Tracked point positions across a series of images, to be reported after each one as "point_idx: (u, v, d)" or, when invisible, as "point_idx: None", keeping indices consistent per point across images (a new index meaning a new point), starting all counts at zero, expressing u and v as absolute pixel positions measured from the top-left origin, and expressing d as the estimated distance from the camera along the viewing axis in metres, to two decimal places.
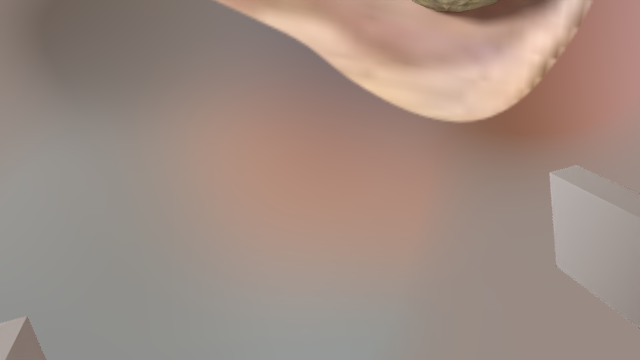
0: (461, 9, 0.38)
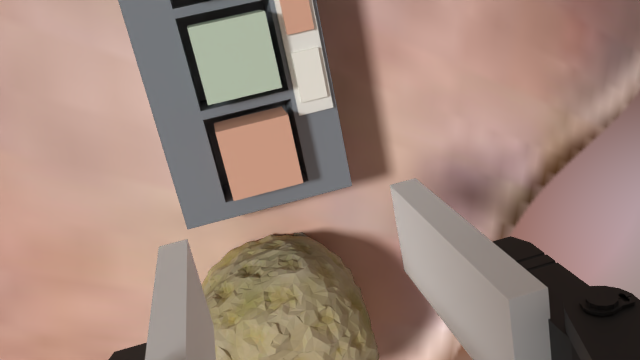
0: None
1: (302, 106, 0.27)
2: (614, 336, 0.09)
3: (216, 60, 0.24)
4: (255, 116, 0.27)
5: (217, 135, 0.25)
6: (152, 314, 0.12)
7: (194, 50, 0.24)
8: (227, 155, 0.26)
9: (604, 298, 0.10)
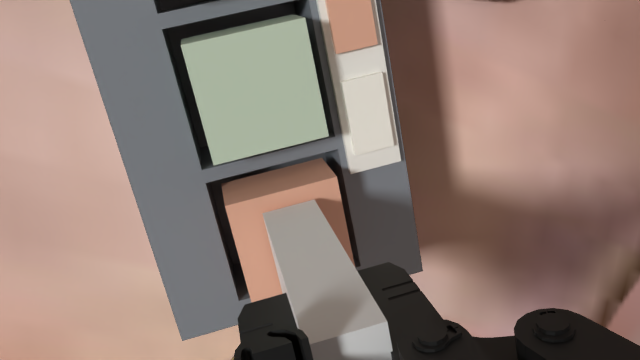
0: None
1: (355, 160, 0.18)
2: None
3: (227, 96, 0.15)
4: (284, 175, 0.18)
5: (228, 210, 0.16)
6: (280, 269, 0.13)
7: (192, 80, 0.15)
8: (243, 239, 0.17)
9: (434, 333, 0.10)
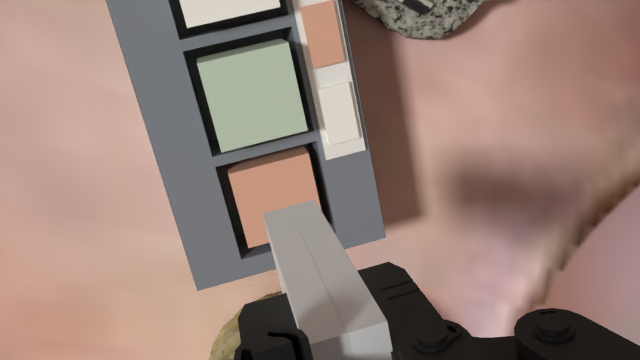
0: None
1: (330, 149, 0.23)
2: None
3: (231, 100, 0.21)
4: (271, 153, 0.24)
5: (230, 177, 0.23)
6: (280, 269, 0.13)
7: (205, 89, 0.20)
8: (241, 198, 0.23)
9: (434, 333, 0.10)
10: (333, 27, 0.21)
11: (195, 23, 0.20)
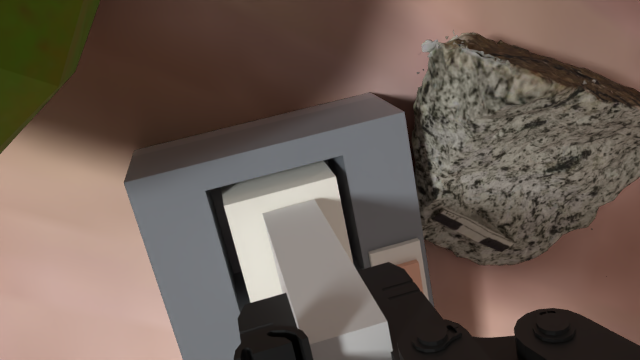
0: None
1: None
2: None
3: None
4: None
5: None
6: (280, 269, 0.13)
7: None
8: None
9: (434, 333, 0.10)
10: None
11: None
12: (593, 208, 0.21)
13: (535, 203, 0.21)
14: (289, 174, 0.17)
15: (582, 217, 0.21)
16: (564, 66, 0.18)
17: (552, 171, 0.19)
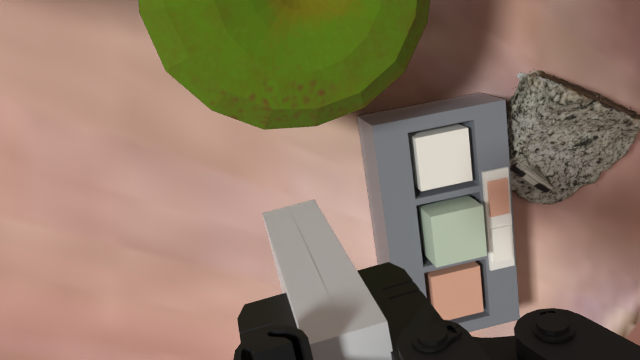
0: None
1: (493, 264, 0.36)
2: None
3: (446, 237, 0.34)
4: None
5: (431, 279, 0.36)
6: (280, 269, 0.13)
7: (433, 231, 0.34)
8: (436, 292, 0.36)
9: (434, 333, 0.10)
10: (505, 194, 0.35)
11: (426, 189, 0.34)
12: (598, 171, 0.38)
13: (566, 165, 0.38)
14: (441, 127, 0.35)
15: (591, 176, 0.38)
16: (586, 90, 0.35)
17: (577, 146, 0.36)
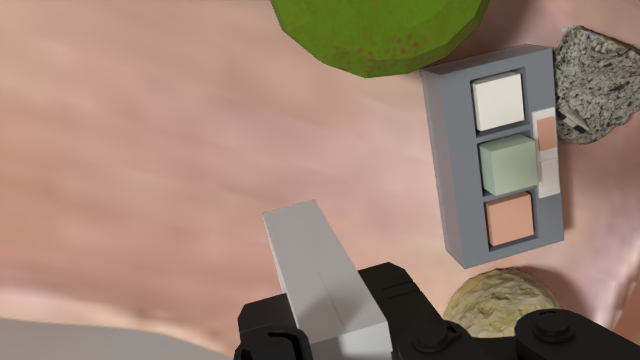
0: None
1: (542, 192, 0.42)
2: None
3: (504, 169, 0.40)
4: None
5: (489, 207, 0.42)
6: (280, 269, 0.13)
7: (492, 164, 0.40)
8: (493, 219, 0.42)
9: (434, 333, 0.10)
10: (552, 130, 0.41)
11: (485, 128, 0.40)
12: (628, 114, 0.44)
13: (601, 108, 0.43)
14: (495, 75, 0.40)
15: (622, 118, 0.44)
16: (620, 41, 0.41)
17: (611, 91, 0.42)
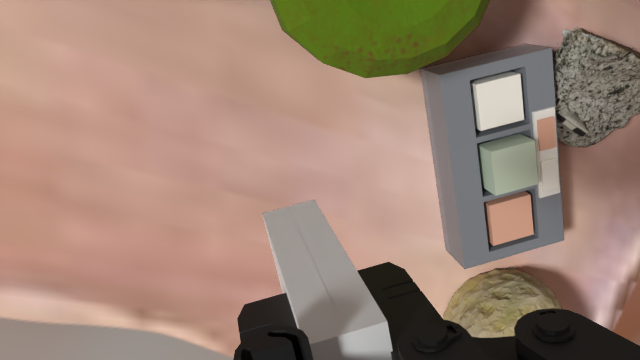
0: None
1: (542, 192, 0.42)
2: None
3: (504, 169, 0.40)
4: None
5: (490, 207, 0.42)
6: (280, 269, 0.13)
7: (493, 164, 0.40)
8: (493, 218, 0.42)
9: (434, 333, 0.10)
10: (552, 130, 0.41)
11: (485, 128, 0.40)
12: (627, 117, 0.44)
13: (600, 111, 0.43)
14: (495, 75, 0.40)
15: (621, 122, 0.44)
16: (620, 45, 0.41)
17: (611, 94, 0.42)
